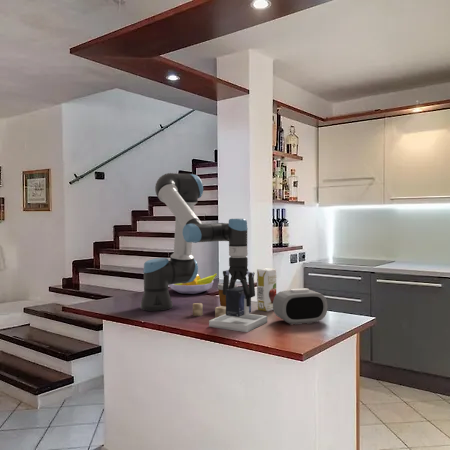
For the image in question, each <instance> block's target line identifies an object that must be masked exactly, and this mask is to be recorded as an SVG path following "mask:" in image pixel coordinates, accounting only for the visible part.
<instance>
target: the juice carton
mask: <svg viewBox="0 0 450 450" xmlns="http://www.w3.org/2000/svg"><path fill="white" fill-rule="evenodd" d="M276 294H277V268H271V267H270V268H269V267H264V268H262V269H258V268H257V269H256V309H257V311H264V312H270V311H274V310H273V300H274V297H275V296H276Z"/></svg>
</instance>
